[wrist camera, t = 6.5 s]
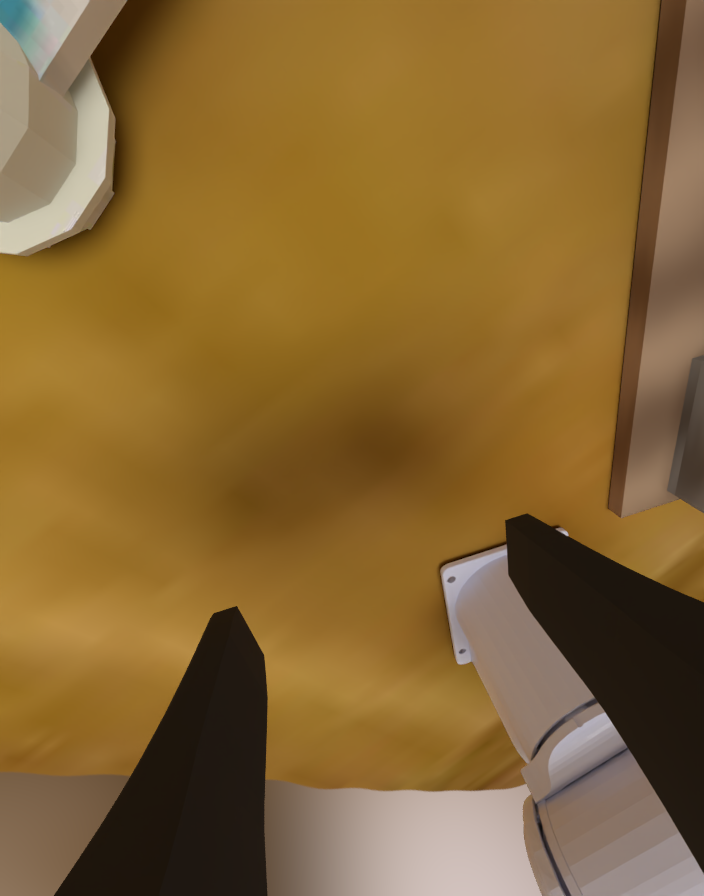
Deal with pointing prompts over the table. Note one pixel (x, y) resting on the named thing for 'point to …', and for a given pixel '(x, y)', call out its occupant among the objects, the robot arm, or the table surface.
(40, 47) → the toothbrush head
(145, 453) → the table surface
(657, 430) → the track base
